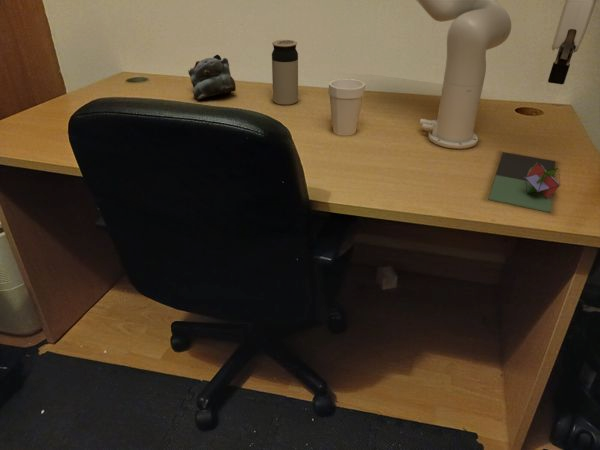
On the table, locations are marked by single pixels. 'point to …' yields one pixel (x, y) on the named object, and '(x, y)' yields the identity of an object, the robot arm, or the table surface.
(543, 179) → the geometric puzzle
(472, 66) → the robot arm
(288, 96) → the travel mug
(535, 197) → the desk pad
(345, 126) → the foam cup
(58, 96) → the table surface
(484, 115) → the table surface
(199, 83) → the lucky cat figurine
